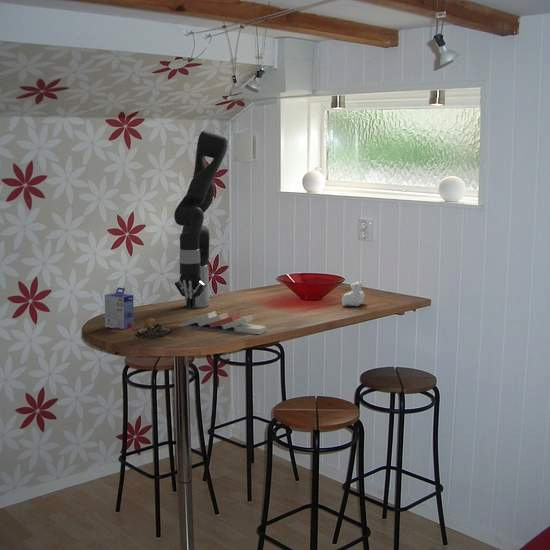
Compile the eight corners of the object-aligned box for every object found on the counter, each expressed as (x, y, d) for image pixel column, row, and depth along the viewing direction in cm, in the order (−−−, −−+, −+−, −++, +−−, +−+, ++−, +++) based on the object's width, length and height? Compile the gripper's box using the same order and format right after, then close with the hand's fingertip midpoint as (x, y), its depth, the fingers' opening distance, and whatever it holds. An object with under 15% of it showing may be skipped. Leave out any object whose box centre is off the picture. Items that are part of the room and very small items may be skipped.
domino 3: (222, 324, 270) (244, 317, 265) (229, 321, 274) (252, 314, 269) (223, 329, 270) (246, 322, 265) (231, 326, 274) (253, 319, 269)
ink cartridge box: (135, 327, 276) (134, 288, 274) (124, 330, 272) (123, 291, 269) (115, 324, 281) (113, 286, 279) (104, 327, 277) (103, 288, 274)
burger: (174, 337, 263) (174, 316, 262) (140, 340, 259) (139, 318, 258) (167, 329, 274) (166, 309, 273) (134, 332, 270) (133, 311, 269)
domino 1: (186, 320, 277) (207, 313, 272) (194, 317, 282) (215, 310, 277) (187, 325, 277) (209, 318, 272) (196, 322, 282) (217, 315, 277)
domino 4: (234, 326, 267) (259, 329, 263) (242, 323, 272) (266, 326, 267) (234, 331, 268) (259, 334, 263) (242, 328, 272) (266, 331, 268)
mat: (175, 327, 276) (175, 325, 276) (193, 321, 286) (193, 320, 286) (244, 336, 263) (244, 334, 263) (260, 329, 272) (260, 328, 272)
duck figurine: (344, 312, 312) (356, 293, 305) (334, 299, 316) (346, 280, 309) (364, 308, 319) (377, 290, 312) (354, 295, 323) (366, 277, 316)
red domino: (209, 323, 272) (231, 316, 267) (217, 320, 277) (239, 313, 272) (210, 328, 272) (233, 321, 267) (218, 325, 277) (240, 318, 272)
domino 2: (197, 322, 275) (219, 315, 270) (205, 319, 279) (227, 312, 274) (199, 326, 275) (220, 319, 270) (207, 323, 279) (228, 317, 274)
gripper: (210, 261, 276) (211, 308, 279) (181, 258, 282) (182, 304, 285) (199, 263, 269) (200, 311, 272) (168, 261, 276) (170, 308, 278)
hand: (190, 308), depth 279 cm, fingers closed
